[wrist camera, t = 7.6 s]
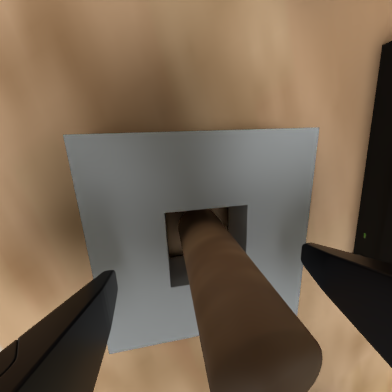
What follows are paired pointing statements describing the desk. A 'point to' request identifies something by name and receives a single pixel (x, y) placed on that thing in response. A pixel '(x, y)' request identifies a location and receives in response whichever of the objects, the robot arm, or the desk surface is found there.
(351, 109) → the desk surface
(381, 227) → the disc drive
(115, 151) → the block
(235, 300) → the walnut pin
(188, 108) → the desk surface
